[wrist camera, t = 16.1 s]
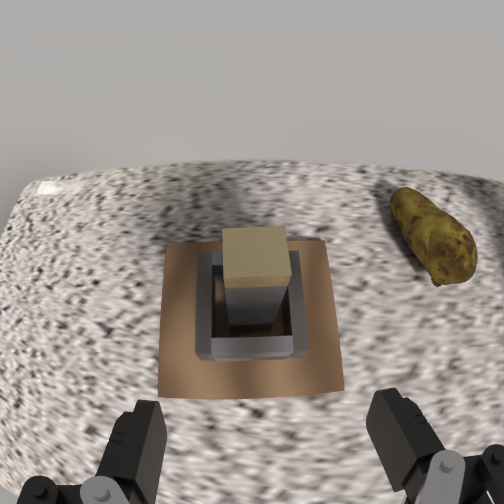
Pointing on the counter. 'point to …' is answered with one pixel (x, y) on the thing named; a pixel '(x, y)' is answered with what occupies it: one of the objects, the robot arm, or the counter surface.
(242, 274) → the tall square pillar
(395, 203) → the potato
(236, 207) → the counter surface
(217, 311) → the well board
